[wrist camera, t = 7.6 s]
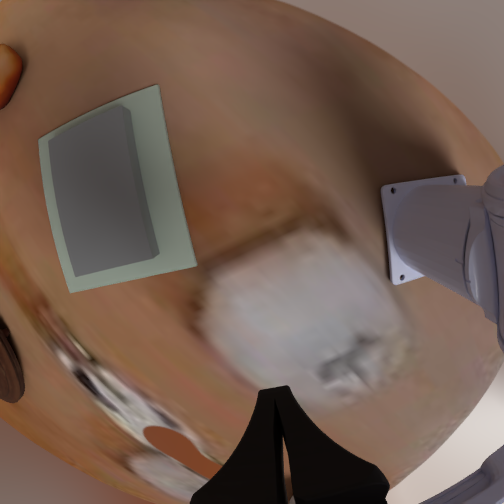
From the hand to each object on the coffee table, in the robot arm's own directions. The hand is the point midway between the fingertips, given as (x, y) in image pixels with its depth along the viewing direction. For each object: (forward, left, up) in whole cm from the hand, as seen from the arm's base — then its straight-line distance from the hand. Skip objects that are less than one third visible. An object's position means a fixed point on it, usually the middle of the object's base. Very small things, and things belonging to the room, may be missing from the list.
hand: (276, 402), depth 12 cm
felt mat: (+10, -12, -10) cm, 18 cm away
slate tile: (+6, -12, -9) cm, 16 cm away
